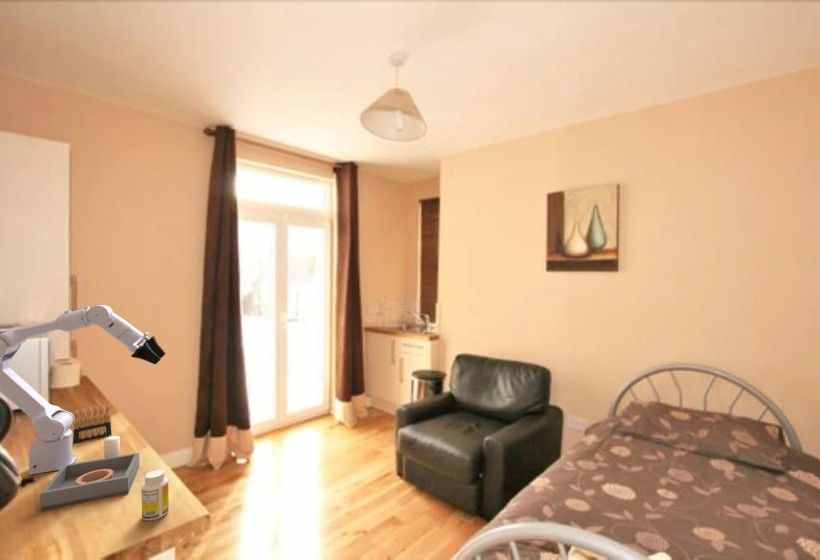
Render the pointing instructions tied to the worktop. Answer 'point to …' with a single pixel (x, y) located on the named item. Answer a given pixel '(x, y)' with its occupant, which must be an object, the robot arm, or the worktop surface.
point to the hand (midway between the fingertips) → (160, 358)
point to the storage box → (90, 481)
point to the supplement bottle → (155, 495)
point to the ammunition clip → (91, 424)
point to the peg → (112, 446)
